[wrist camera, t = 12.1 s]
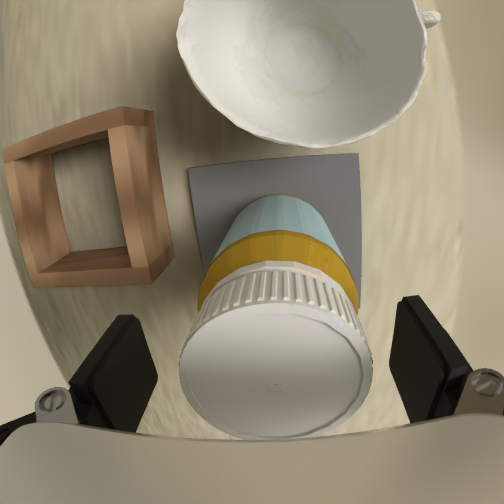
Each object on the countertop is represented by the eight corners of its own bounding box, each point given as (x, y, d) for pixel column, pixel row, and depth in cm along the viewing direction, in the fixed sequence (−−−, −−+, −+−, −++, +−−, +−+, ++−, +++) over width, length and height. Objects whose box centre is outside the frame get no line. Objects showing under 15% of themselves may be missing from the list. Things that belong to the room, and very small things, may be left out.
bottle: (341, 261, 24) (405, 412, 9) (258, 297, 25) (232, 463, 11) (302, 175, 22) (344, 242, 8) (214, 219, 23) (123, 337, 9)
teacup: (240, 167, 22) (220, 181, 15) (189, 17, 19) (151, -28, 11) (433, 119, 20) (493, 116, 12) (378, -25, 16) (410, -74, 9)
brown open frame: (40, 144, 23) (2, 149, 18) (152, 111, 21) (122, 106, 17) (64, 265, 26) (33, 287, 22) (174, 257, 25) (152, 283, 20)
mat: (189, 168, 23) (187, 168, 22) (356, 153, 21) (358, 153, 21) (213, 314, 27) (212, 317, 26) (358, 305, 25) (360, 308, 25)
